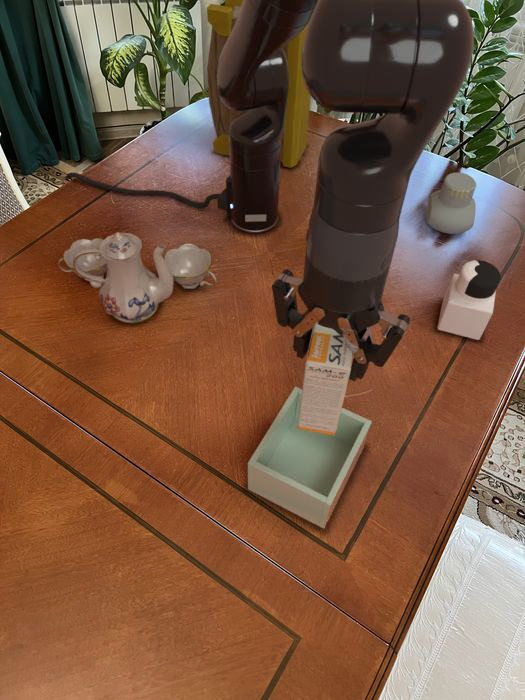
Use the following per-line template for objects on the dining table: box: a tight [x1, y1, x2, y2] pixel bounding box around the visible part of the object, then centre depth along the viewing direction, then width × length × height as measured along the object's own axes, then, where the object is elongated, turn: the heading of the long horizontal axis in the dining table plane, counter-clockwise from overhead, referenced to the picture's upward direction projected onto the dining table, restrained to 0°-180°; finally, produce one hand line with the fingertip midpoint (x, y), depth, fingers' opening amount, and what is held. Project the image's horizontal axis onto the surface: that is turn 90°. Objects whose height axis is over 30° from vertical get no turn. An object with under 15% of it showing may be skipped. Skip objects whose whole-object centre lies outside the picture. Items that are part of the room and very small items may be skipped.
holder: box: [247, 386, 373, 530], centre depth 78 cm, size 12×14×8 cm
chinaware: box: [57, 231, 218, 324], centre depth 96 cm, size 28×17×17 cm, turn 91°
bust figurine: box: [437, 259, 502, 341], centre depth 94 cm, size 7×7×12 cm
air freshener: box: [425, 172, 477, 235], centre depth 111 cm, size 11×8×10 cm
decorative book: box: [206, 0, 312, 169], centre depth 118 cm, size 20×11×30 cm, turn 69°
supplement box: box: [297, 322, 354, 435], centre depth 65 cm, size 8×5×13 cm, turn 168°
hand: (328, 363), depth 63 cm, fingers closed on supplement box, 5 cm apart
